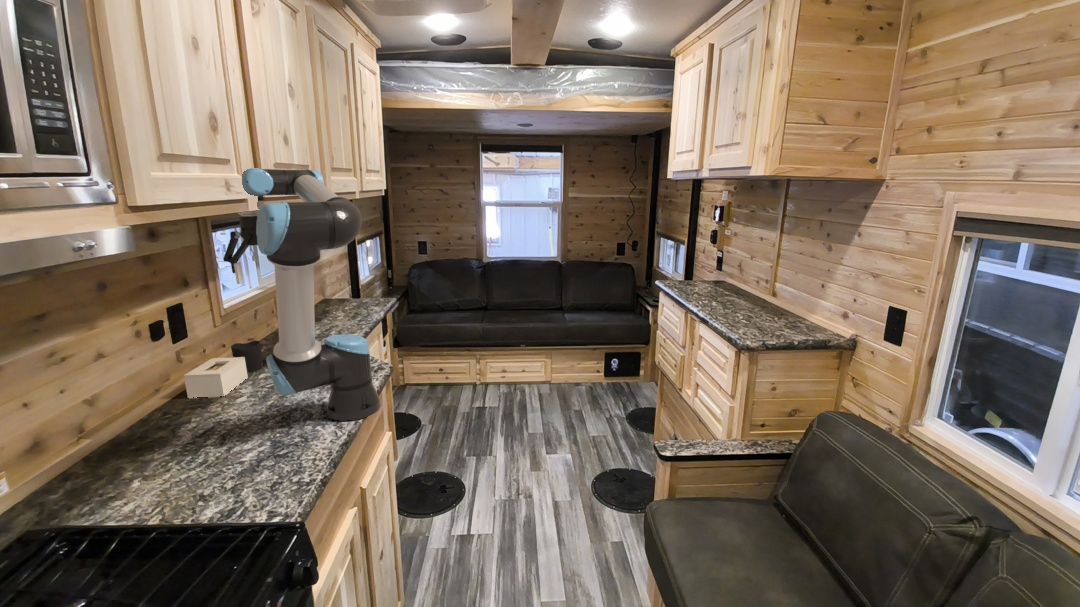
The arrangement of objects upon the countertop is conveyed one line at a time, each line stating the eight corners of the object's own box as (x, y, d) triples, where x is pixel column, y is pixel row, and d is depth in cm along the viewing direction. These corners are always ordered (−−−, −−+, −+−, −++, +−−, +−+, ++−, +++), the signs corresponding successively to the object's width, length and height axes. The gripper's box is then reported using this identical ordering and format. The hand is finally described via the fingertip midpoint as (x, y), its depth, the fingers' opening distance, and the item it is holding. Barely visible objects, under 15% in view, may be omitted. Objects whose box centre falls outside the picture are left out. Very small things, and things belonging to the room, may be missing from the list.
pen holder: (251, 374, 173) (247, 348, 171) (229, 373, 175) (224, 347, 172) (269, 365, 182) (266, 340, 180) (248, 364, 184) (244, 340, 181)
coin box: (224, 396, 155) (219, 373, 153) (188, 398, 153) (183, 375, 152) (248, 377, 170) (244, 356, 168) (215, 379, 169) (211, 358, 167)
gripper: (299, 213, 152) (307, 279, 156) (216, 215, 149) (227, 281, 154) (289, 215, 144) (299, 283, 149) (202, 216, 142) (215, 286, 147)
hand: (262, 282), depth 152 cm, fingers open, 13 cm apart
